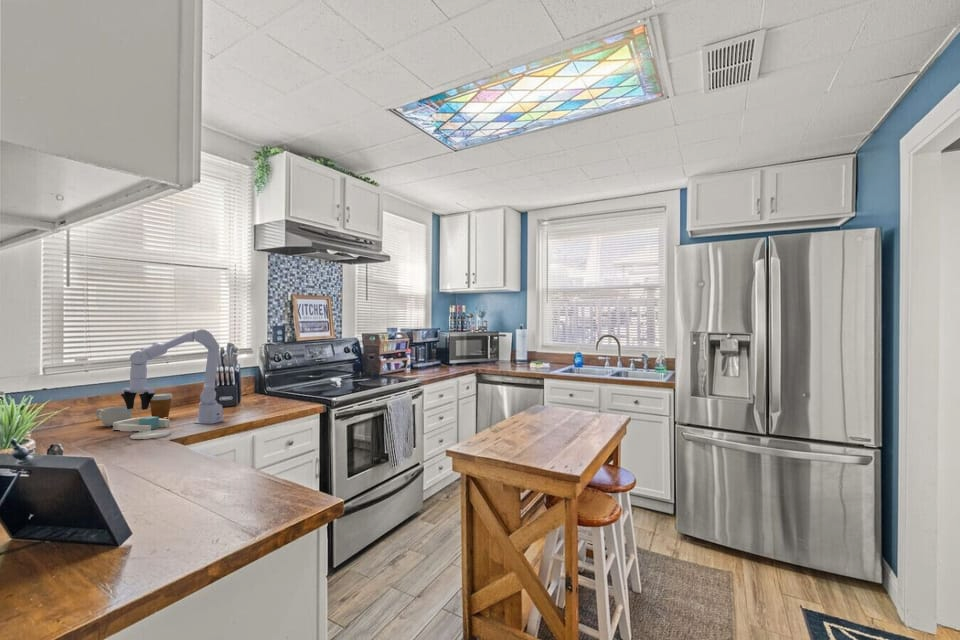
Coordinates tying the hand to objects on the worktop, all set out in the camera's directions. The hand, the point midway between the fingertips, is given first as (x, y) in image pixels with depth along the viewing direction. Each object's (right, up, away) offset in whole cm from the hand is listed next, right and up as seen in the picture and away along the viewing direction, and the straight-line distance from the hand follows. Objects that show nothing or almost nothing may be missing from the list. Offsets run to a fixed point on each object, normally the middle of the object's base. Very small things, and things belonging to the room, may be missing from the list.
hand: (137, 409), depth 187 cm
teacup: (-15, -9, +5) cm, 18 cm away
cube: (+6, -9, -1) cm, 10 cm away
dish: (+17, -8, -14) cm, 24 cm away
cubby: (+2, -8, -1) cm, 9 cm away
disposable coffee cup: (-5, -9, +20) cm, 22 cm away
